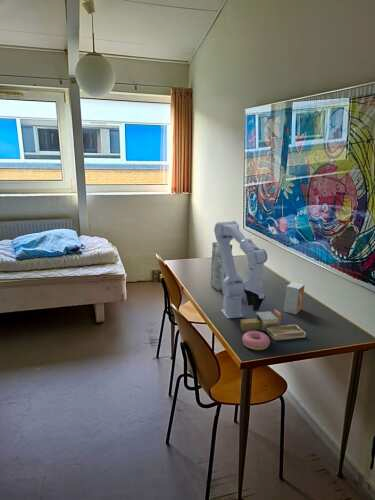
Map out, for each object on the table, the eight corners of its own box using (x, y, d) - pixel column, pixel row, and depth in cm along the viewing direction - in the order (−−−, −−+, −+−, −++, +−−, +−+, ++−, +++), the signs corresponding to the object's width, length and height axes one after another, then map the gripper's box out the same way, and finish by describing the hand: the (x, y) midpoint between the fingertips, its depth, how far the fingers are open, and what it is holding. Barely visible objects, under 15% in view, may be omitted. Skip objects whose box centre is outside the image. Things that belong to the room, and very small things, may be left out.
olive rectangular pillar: (243, 331, 155) (243, 323, 154) (239, 327, 159) (240, 319, 158) (262, 330, 157) (263, 321, 156) (259, 326, 161) (259, 318, 160)
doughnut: (265, 337, 150) (266, 328, 149) (273, 352, 140) (274, 342, 139) (239, 337, 150) (240, 328, 149) (244, 352, 139) (245, 342, 138)
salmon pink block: (258, 323, 162) (259, 310, 160) (274, 322, 163) (275, 309, 162) (263, 329, 157) (264, 315, 155) (280, 327, 159) (281, 314, 157)
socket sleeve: (254, 323, 163) (255, 312, 161) (269, 322, 164) (270, 311, 163) (262, 331, 155) (263, 319, 154) (277, 329, 157) (278, 318, 156)
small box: (296, 314, 173) (299, 289, 169) (283, 311, 176) (286, 286, 173) (302, 309, 179) (304, 284, 176) (289, 306, 183) (292, 281, 179)
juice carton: (217, 291, 199) (220, 243, 192) (208, 285, 208) (210, 239, 201) (231, 289, 202) (234, 242, 195) (222, 283, 212) (224, 238, 205)
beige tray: (266, 332, 155) (267, 327, 154) (296, 329, 158) (296, 324, 158) (274, 340, 148) (275, 335, 147) (305, 337, 152) (305, 331, 151)
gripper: (239, 272, 158) (237, 302, 162) (253, 284, 145) (251, 315, 148) (254, 272, 160) (252, 300, 163) (270, 283, 146) (267, 314, 150)
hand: (253, 307), depth 156 cm, fingers open, 5 cm apart
